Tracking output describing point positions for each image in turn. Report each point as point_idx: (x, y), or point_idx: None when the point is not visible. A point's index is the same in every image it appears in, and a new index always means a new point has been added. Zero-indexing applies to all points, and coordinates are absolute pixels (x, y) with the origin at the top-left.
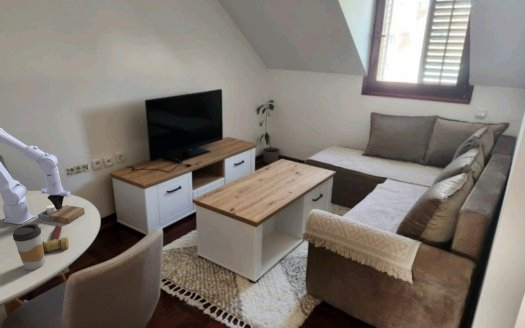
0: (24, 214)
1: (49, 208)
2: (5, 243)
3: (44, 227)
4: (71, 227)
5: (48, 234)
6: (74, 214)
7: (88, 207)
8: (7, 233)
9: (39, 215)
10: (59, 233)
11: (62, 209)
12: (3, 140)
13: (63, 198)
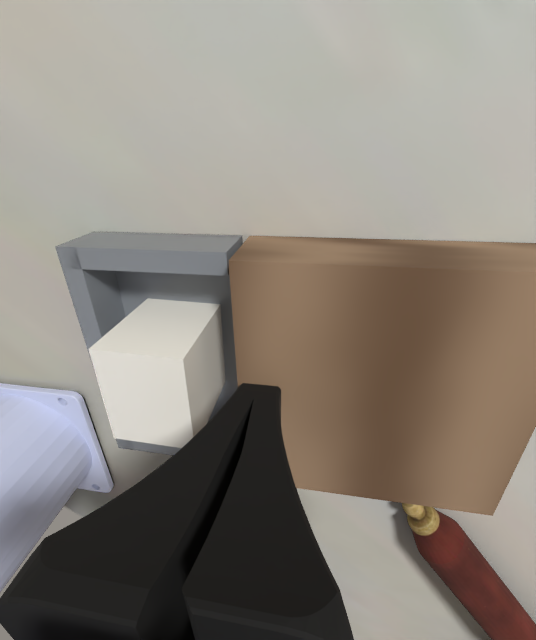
0: (57, 502)
1: (163, 441)
2: None
3: None
4: (528, 491)
5: (396, 557)
6: (521, 433)
7: (506, 32)
8: None
9: (140, 445)
10: (518, 609)
11: (285, 375)
12: None
13: (305, 516)
